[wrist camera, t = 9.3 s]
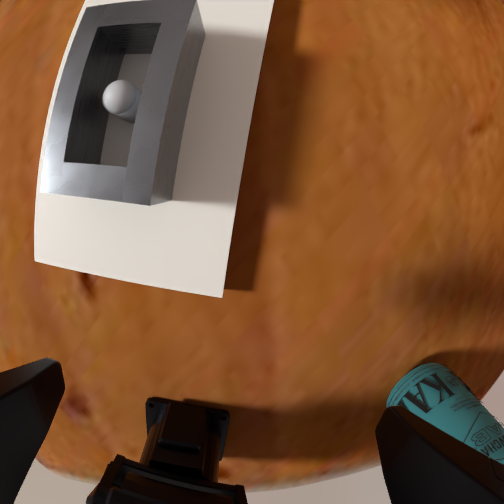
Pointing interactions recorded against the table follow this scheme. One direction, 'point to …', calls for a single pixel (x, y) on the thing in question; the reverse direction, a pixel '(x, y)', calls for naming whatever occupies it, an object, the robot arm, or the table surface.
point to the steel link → (149, 109)
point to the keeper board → (187, 173)
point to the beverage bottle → (449, 408)
